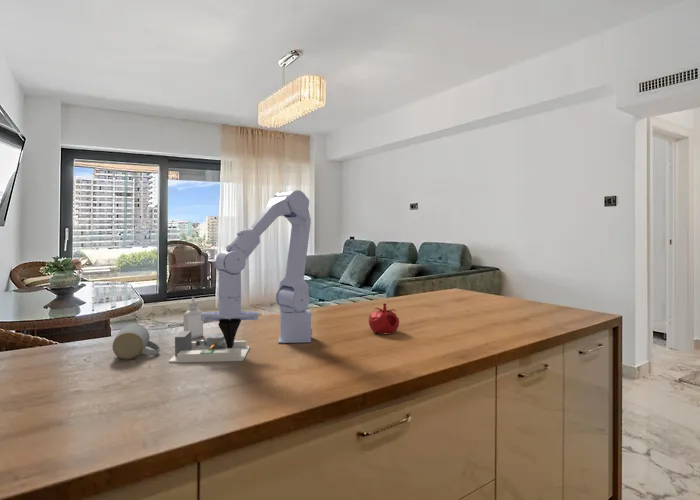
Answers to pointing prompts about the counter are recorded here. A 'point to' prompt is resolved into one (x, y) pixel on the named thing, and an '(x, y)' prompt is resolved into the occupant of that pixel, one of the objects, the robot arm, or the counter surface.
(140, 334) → the ceramic mug
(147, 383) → the counter surface
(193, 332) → the eye dropper bottle
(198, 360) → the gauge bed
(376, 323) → the pomegranate
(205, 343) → the plunger
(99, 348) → the counter surface
